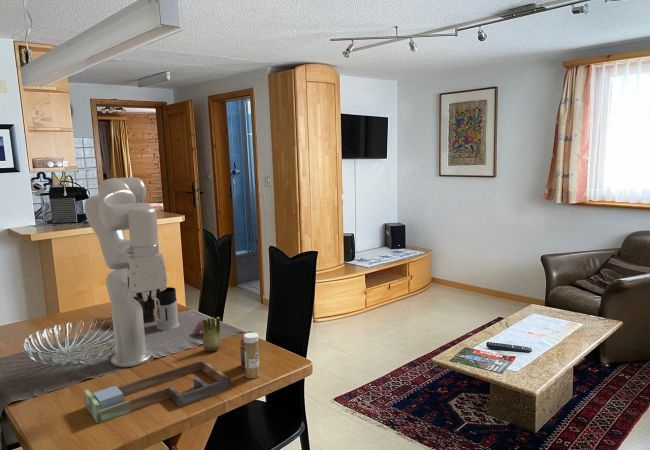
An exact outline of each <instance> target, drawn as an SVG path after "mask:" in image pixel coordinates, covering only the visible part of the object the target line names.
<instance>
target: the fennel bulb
mask: <svg viewBox="0 0 650 450" xmlns="http://www.w3.org/2000/svg"><path fill="white" fill-rule="evenodd" d="M202 320H203V325H204V334H202V335H203V337H202V344H203V345H202V346H203V348H204V349H205V351H207V352H216V351H218V350H219V349H220V348H221V345H222V333H221V332H222V331H221V317H219V316H217V317H216V318H215V317H211V318H210V317H208V318H204V319H202ZM207 320H208V324H207ZM210 320H211V321H210ZM215 322H216V326H215ZM211 323H212V328H211Z"/></svg>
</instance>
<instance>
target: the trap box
mask: <svg viewBox="0 0 650 450" xmlns="http://www.w3.org/2000/svg"><path fill="white" fill-rule="evenodd" d="M199 371H203V372H204V373H205V374H206V375H208V376H209V377H211V378H212V379H213V381H211V382H208V383H206V382H204V381H203V380H201V379H200V378H199V377H197V376H195V377H193V388H192V389H188V390H186V391H182V392H181V393H180V392H179V391H178V390H177V389H175V388H174V386H172V385H169V386H166V387H163V388H161V389H156V390H154V391H151V392H148V393H145V394H143V395H139V396H137V397H133V398H131V399H128V400H124V402H122V403H119V404H116V405H113V406H110V407H107V408H104V409H100V404H99V403H98V401H97V400H96V399H95V398H94V396H93V393H92V392H91V391H90V390H89V388H88V389H85V390H83V393H84V404H85V405H84V406H85V409H87V412H89V414H90V415H91V416H92V418H93V419H94V420H95V422H96V423H97V424H101V423H104V422H107V421H109V420H112V419H114V418H118V417H120V416H123V415H125V414H129V413H132V412H134V411H137V410H139V409H143V408H145V407H148V406H151V405H154V404H156V403H159V402H161V401H165V400H167V399H168V400H169V399H170V400H172V402H173V403H175V404H176V405H177V406H178V407H179V408H182V407H185V406H188V405H191V404H193V403H195V402H198V401H201V400H204V399H207V398H209V397H211V396H214V395H217V394H219V393H222V392H225V391H227V390H230V389H232V379H231V377H230V376H227V375H226V374H225V373H224V372H222V371H221V370H219V369H218V368H216V367H214V366H213V365H212V364H210V362H207V361H206V360H204V359H199V360H195V361H193V362H189V363H187V364H184V365H180V366H177V367H174V368H170V369H168V370H165V371H162V372H159V373H155V374H152V375H149V376H145V377H143V378H140V379H137V380H134V381H130V382H127V383H123V384H122V385H118V386H116V387H117V388H118V389H119V390H120V391H121V392H122V393H123V397H126V396H128V395H131V394H134V393H137V392H140V391H143V390H146V389H149V388H152V387H154V386H158V385H161V384H163V383H167V382H170V381H172V380H173V381H174V380H176V379H180V378H182V377H184V376H187V375H190V374H193V373H197V372H199Z"/></svg>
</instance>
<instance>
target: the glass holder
mask: <svg viewBox="0 0 650 450" xmlns="http://www.w3.org/2000/svg"><path fill="white" fill-rule="evenodd" d="M166 287H167V288H166V289H165V290H163V291H160V292H159V293H158V295H157V296H156V298H155V299H154V302H156V303H155V306H156V307H155V309H156V312H155V310H154V313H153V314H154V319H155V320H157V325H156V329H157V330H160V331H168V330H174V329H177V328H179V326H180V322H179V316H178V315H179V314H178V303H177V302H178V300H177V293H176V291H177V290H176V288H175V287H172V286H166Z"/></svg>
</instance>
